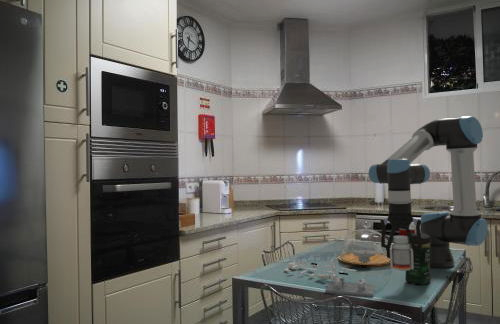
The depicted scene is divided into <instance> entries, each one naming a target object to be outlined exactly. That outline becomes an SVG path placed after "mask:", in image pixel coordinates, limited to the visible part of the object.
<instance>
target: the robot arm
mask: <svg viewBox="0 0 500 324" xmlns="http://www.w3.org/2000/svg"><path fill="white" fill-rule="evenodd" d="M483 134H484V132H483V127H482V125H481V123H480V121H479V120H478V119H477V118H476V117H475V116H472V115H468V116H467V115H465V116H456V117H447V118H438V119H435V120H432V121H430V122H428V123H426V124H424V125H423V126H421V127H420V128H418V129H417V130H415V132H413V134H412V136H411V138H410V139H409V140H408V141H406V142H405V143H404V144H402V146H401V147H399V148H397V150H396V151H395V152H394V153H393V154H391V155H390V156H389V157H388V158H386V160H384V161H383V162H382V163H380V164H379V163H377V164H373V165H371V166H370V167H369V169H368V177H369V180H370V182H372V183H374V184H387V187H388V188H387V197H388V198H387V199H388V202H389V203H388V216H387V217H386V218H381V219H380V220H379V221H380V225H381V234H380V235H381V240H380V246H381V248H384V249H386V259H387V258H388V259H390V260H389V261H390V263H389V264H390V268H391V269H394V268H393V258H392V246H391V245H392V243H393V237H394V236H395V233H396V230H399V229H400V228H401V229H405V230H406V232H407V235H408V237H409V240H410V243H411V245H412V248H413V249H411V269H414V264H413V259H416V258H417V249H421V248H422V242H421V234H420V233H426V234H427V235H428V236H429V237H430V268H439V269H440V268H441V269H442V268H444V269H445V268H451V267H454V266H455V259H454V257H453V254H452V250H451V249H450V244H459V245H464V246H468V247H470V246H474V247H477V246H481V245H483V243H484V242H485V240H486V238H487V235H488V232H489V231H488V230H489V226H488V222H487V220H486V219H485V218H483V217H482V213H481V212H480V211H479V210H478V209H477V195H476V194H477V193H476V174H475V160H474V159H475V157H474V155H475V154H474V152H475V151H476V150H477V149H478V144H480V143H481V142H482V141H483V138H484V135H483ZM438 146H439V147H440V146H441V147H442V146H445V149H446V151H447V152H448V153H449V154H450V165H451V166H450V167H451V168H450V169H451V186H452V203H453V209H452V210H451V211H450V212H448V211H440V212H439V211H438V212H437V211H436V212H428V213H427V212H426V213H422V214H421V216H420V219H419V218H414V217H413V216H412V215H413V214H412V204H411V201H412V197H411V195H412V194H411V193H412V192H411V185H416V184H417V185H421V184H424V183H426V182H428V181H429V179H430V177H431V172H430V169H429V167H428V166H427V165H426V164H424V163H420V162H418V163H417V162H416V163H413V162H414V161H415V160H416V159H417V158H418V157H420V156H421V155H422V154H423V153H424V152H425V151H429V150H431V149H433V148H434V147H438ZM412 222H413V224H414V226H415V233H417V242H418V245H415V243H414V240H413V237H412V235H411V232H410V229H409V226H410V225H411V224H412ZM388 223H389V224H390V226H392V228H391V230H390V233H389V237H388V240H387V243H386V225H387V224H388Z"/></svg>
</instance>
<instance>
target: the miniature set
mask: <svg viewBox="0 0 500 324" xmlns="http://www.w3.org/2000/svg"><path fill="white" fill-rule="evenodd" d="M328 261H329V265H327V264H324V266H323V267H324V268H325V269H327V268H330V271H329V270H322V272H324V273H318V274H316V273H311V274H309V278H311V279H312V278H314V277H316V276H317V279H319V280H323V279H324V280H330V281H336V279H337V278H338V275H337V274H336V270H335V269H336V268H337V267H336V265H335V263H334V259H333V258H331V259H329V260H328ZM307 262H308V261H307V260H299V263H297V261H296V260H293V261H291V262H289V263H288V264H287V267H286V268H285V269H283V271H284V272H292V270H296V271H297V270H299V265H300V266H301V267H302V269H305V270H303V271H301V272H299V274H300V275H303V274H305V273H307V270H309V271H318V268H319V267H320V265H318V262H310V267H313V268H310V267H308V265H307ZM343 270H344V271H345V272H344V271H343ZM348 271H353V272H357V271H358V270H356V269H350V268H349V267H348V268H344V267H340V271H339V272H338V274H339V275H343V276H344V275H345V276H348V275H349V273H347V272H348ZM325 273H327V274H325ZM328 273H331V274H330V277H329V274H328Z"/></svg>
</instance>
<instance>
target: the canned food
mask: <svg viewBox="0 0 500 324" xmlns="http://www.w3.org/2000/svg"><path fill="white" fill-rule="evenodd" d="M408 227H409V226H408ZM409 229H410V232H411V234H414V233H416V227H415V228H414V227H409ZM398 233H399V234H398V236H408V235H407V232H406V230H405V229H401V228H400V229H398Z"/></svg>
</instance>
